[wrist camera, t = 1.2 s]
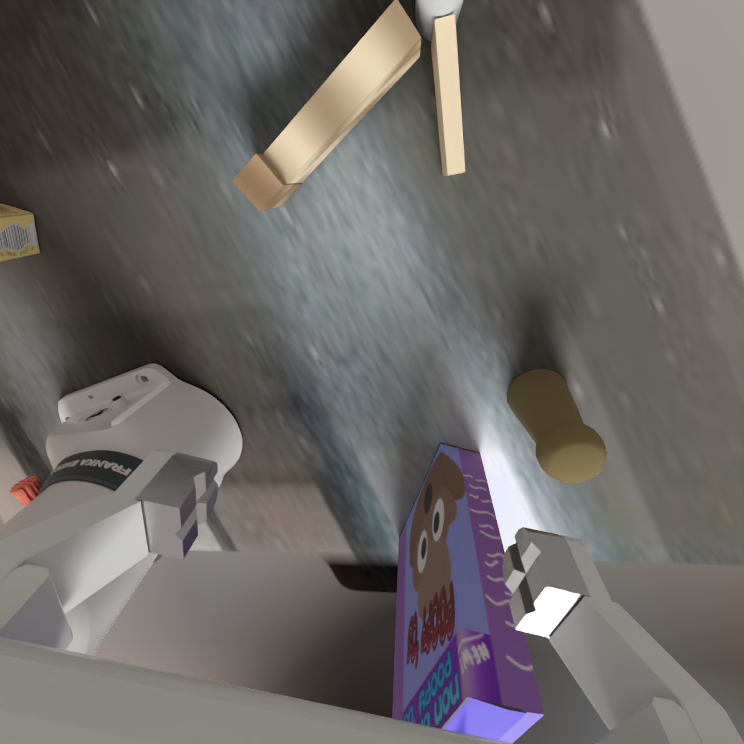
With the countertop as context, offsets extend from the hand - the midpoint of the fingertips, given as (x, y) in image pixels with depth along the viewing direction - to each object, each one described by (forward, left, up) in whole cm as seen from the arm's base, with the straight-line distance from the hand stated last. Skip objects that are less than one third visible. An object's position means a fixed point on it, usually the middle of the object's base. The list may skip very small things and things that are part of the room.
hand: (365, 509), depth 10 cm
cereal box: (0, -29, -28) cm, 40 cm away
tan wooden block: (-3, +12, -27) cm, 30 cm away
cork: (+12, -15, -28) cm, 34 cm away
